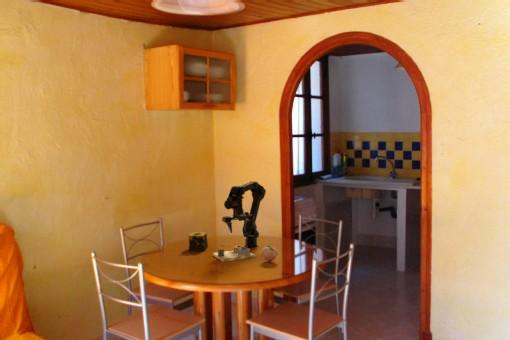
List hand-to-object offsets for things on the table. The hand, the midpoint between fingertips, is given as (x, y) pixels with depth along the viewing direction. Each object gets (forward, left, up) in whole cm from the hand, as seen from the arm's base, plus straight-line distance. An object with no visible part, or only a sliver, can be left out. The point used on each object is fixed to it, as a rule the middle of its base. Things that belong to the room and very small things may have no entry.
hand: (238, 232), depth 300 cm
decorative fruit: (-6, +30, -12) cm, 33 cm away
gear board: (+7, +9, -12) cm, 17 cm away
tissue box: (+20, -18, -12) cm, 30 cm away
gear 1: (+2, +5, -10) cm, 12 cm away
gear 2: (+2, +13, -10) cm, 17 cm away
